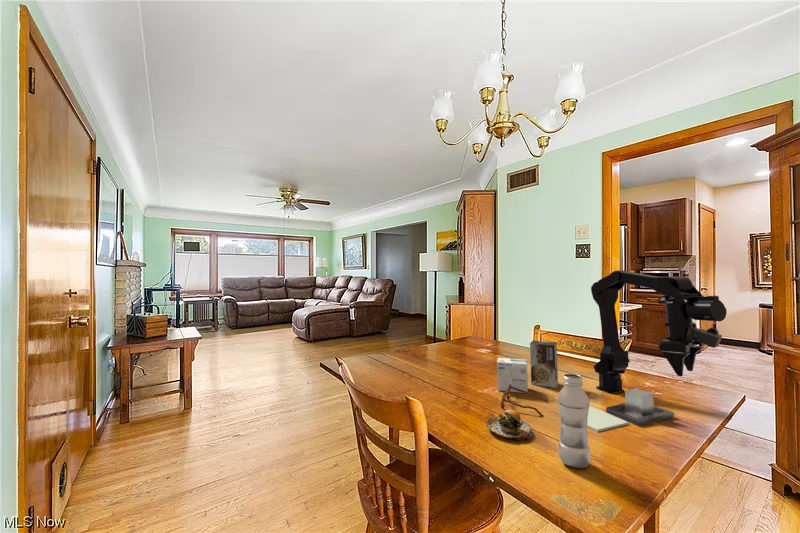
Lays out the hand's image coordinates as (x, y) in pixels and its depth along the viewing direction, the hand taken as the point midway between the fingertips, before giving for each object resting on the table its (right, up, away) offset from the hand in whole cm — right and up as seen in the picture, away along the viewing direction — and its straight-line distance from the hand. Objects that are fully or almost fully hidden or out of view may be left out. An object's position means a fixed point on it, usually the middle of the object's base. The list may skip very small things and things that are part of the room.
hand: (685, 373), depth 96 cm
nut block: (-10, -14, +4) cm, 18 cm away
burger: (-53, -15, -5) cm, 55 cm away
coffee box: (-27, -15, +32) cm, 44 cm away
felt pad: (-25, -14, +2) cm, 29 cm away
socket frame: (-10, -14, +4) cm, 18 cm away
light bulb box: (-41, -15, +27) cm, 51 cm away
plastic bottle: (-43, -14, -20) cm, 50 cm away
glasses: (-42, -15, +13) cm, 46 cm away
